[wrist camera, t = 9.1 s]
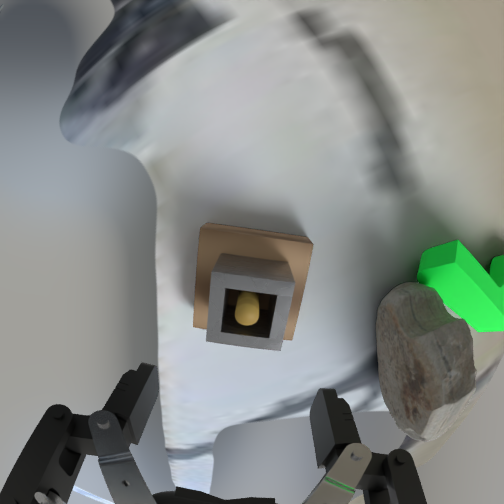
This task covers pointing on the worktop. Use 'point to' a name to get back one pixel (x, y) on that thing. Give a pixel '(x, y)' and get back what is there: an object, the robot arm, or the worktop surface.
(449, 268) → the bracket
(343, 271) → the worktop surface
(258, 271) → the link
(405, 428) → the stone
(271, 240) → the keeper
